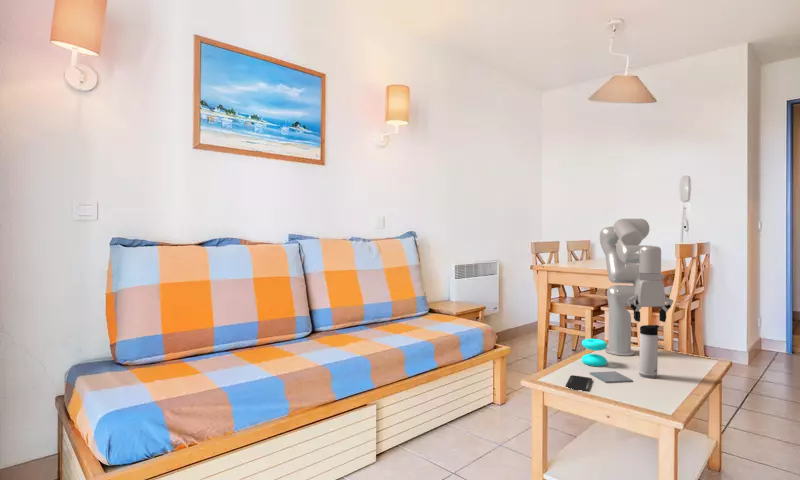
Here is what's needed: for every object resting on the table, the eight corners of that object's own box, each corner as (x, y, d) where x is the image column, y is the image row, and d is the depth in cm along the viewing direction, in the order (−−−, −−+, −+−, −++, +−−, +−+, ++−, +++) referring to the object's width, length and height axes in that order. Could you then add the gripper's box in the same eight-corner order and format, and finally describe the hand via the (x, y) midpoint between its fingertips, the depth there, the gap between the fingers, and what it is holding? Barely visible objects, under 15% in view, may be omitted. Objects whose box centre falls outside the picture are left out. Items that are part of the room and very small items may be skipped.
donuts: (588, 336, 203) (611, 340, 196) (588, 359, 203) (611, 364, 196) (577, 340, 196) (600, 344, 189) (577, 363, 196) (600, 368, 189)
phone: (592, 378, 174) (588, 389, 161) (592, 381, 174) (588, 393, 161) (570, 374, 178) (564, 386, 165) (570, 377, 178) (564, 389, 165)
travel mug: (660, 378, 176) (661, 327, 176) (642, 377, 177) (642, 326, 177) (655, 374, 182) (655, 324, 182) (637, 372, 183) (637, 323, 183)
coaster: (589, 373, 182) (589, 372, 182) (615, 372, 183) (615, 371, 183) (605, 382, 171) (605, 381, 171) (632, 381, 173) (632, 380, 173)
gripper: (667, 277, 182) (667, 319, 182) (623, 276, 183) (623, 319, 183) (678, 278, 175) (677, 323, 175) (632, 278, 175) (631, 322, 175)
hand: (649, 321), depth 179 cm, fingers open, 9 cm apart
